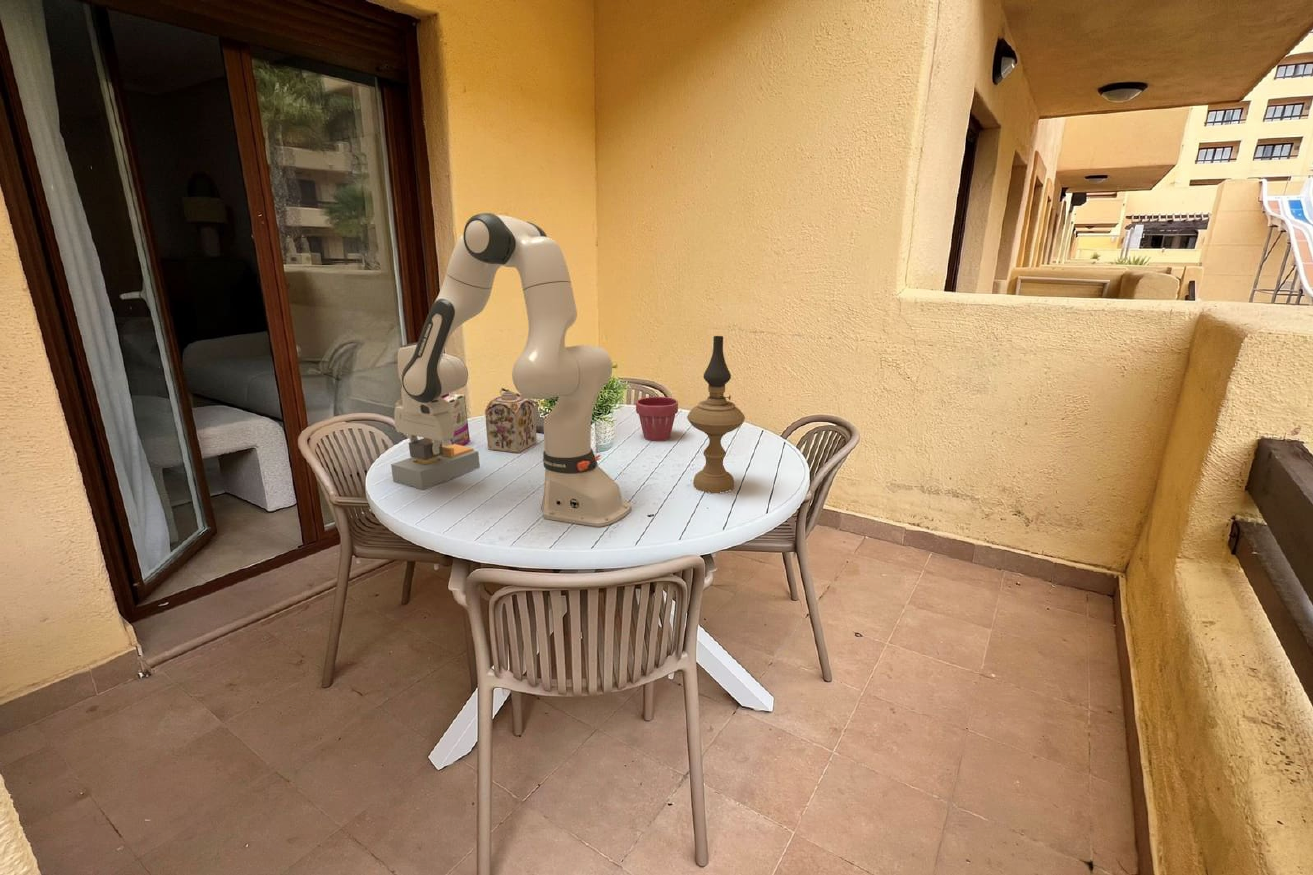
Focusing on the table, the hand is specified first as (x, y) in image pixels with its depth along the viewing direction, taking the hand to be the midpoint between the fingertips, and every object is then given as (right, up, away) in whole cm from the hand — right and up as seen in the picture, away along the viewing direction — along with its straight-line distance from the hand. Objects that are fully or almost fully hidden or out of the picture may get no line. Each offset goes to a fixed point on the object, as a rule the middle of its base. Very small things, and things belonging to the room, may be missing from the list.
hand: (426, 451), depth 160 cm
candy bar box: (-2, +1, +29) cm, 29 cm away
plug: (0, -5, +2) cm, 5 cm away
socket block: (+2, -7, +5) cm, 8 cm away
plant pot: (+64, +4, +40) cm, 75 cm away
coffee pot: (+19, +7, +49) cm, 53 cm away
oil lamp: (+79, -9, -3) cm, 79 cm away
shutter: (+4, 0, +8) cm, 9 cm away
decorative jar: (+17, +1, +30) cm, 34 cm away
